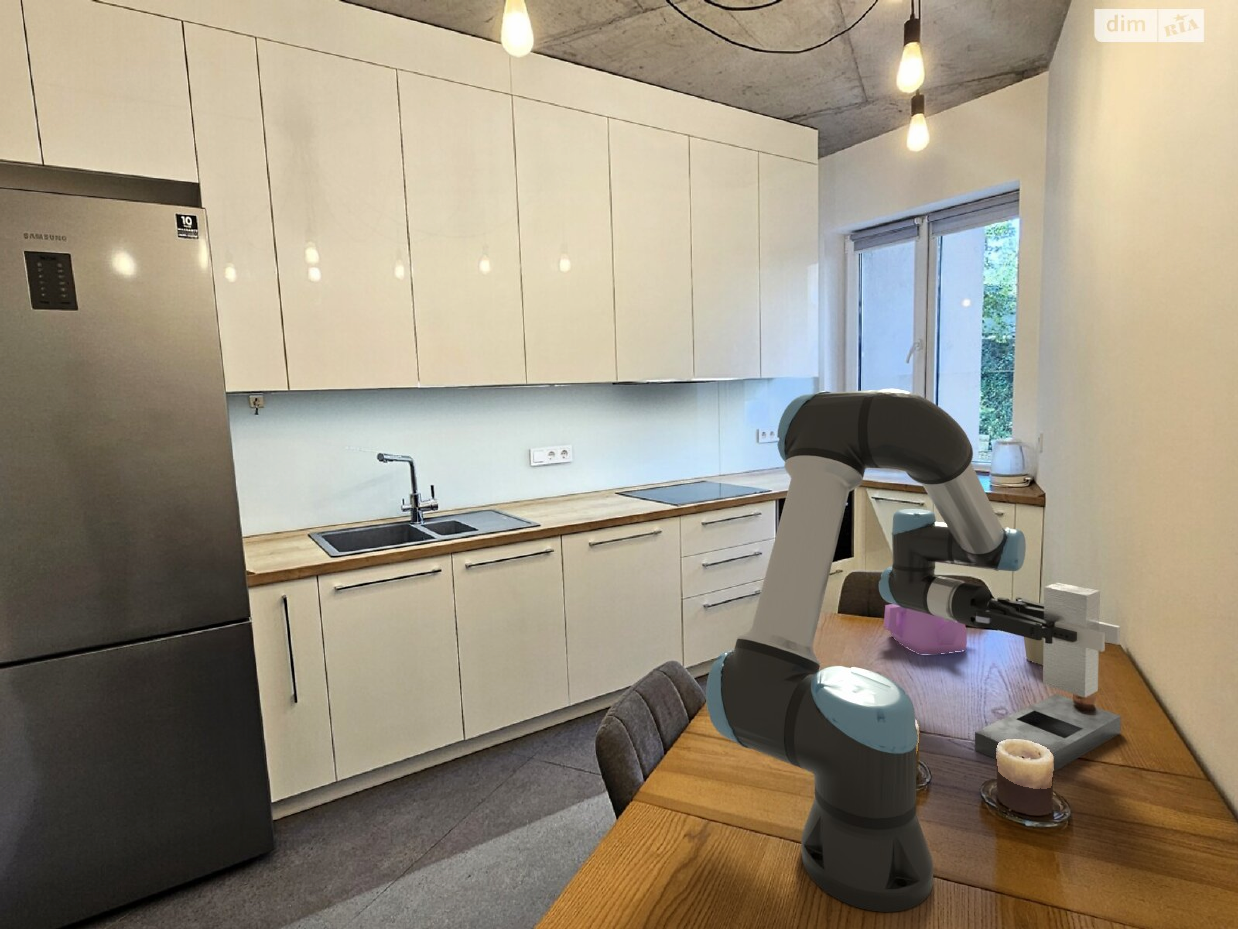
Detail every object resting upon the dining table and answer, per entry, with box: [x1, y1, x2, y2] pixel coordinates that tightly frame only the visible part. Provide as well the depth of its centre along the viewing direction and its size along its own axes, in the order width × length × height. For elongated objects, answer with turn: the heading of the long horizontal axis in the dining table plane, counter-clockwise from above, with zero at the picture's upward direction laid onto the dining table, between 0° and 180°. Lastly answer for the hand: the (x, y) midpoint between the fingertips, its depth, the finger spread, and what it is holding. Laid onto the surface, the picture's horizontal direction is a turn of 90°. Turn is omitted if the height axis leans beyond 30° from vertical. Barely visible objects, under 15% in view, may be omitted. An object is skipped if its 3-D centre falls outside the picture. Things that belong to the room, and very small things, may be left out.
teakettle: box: [883, 603, 968, 654], centre depth 148 cm, size 17×17×12 cm
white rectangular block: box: [1042, 582, 1101, 697], centre depth 101 cm, size 4×6×16 cm, turn 30°
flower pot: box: [1023, 637, 1044, 665], centre depth 136 cm, size 9×9×9 cm
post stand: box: [974, 693, 1122, 772], centre depth 105 cm, size 25×10×5 cm, turn 119°
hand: (1110, 638), depth 97 cm, fingers closed on white rectangular block, 4 cm apart
